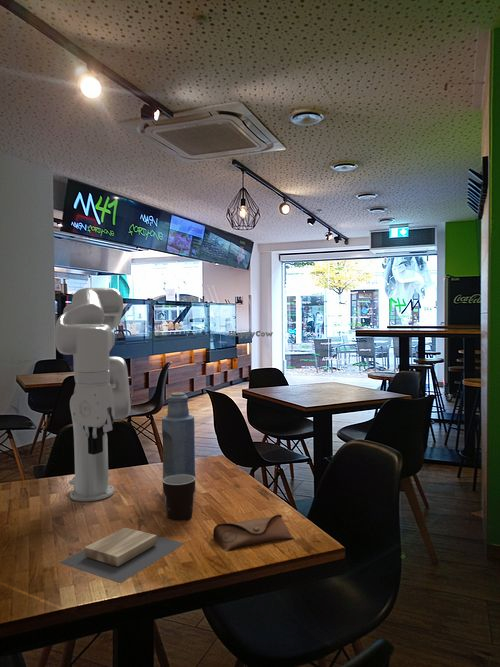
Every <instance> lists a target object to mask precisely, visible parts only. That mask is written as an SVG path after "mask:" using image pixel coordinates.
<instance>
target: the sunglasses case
mask: <svg viewBox="0 0 500 667" xmlns="http://www.w3.org/2000/svg"><path fill="white" fill-rule="evenodd" d="M284 521H285V520H283V515H281V514H276V515H272V516H267V517H261V518H260V517H259V518H252V519H248V520H241V521H236V522H229V523H228V522H226V523H219V524H217V525H216V526H214V528H213V534H212V536H213V539H214V541H216V543H217V544H218V545H219V546H220V548H221V549H223V550H224V552H231V551H234V550H238V549H242V548H243V549H244V548H247V547H252V546H254V547H255V546H257V545H258V546H260V545H264V544H269V543H275V542H281V541H286V540H287V541H289V540H294V539H295V537H294V536H292V534H291V533H290V531H289V528H288V526H287V525H286V523H285V522H284Z"/></svg>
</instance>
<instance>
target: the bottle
mask: <svg viewBox="0 0 500 667" xmlns="http://www.w3.org/2000/svg"><path fill="white" fill-rule="evenodd" d="M188 400H189V397H188V395H186V393H185V392H181V391H180V392H178V391H177V392H171V393H170V395H169V396H168V397H167V411H166V412H167V413H166V415H165V416H162V418H161V435H162V436H161V437H162V480H163V479H164V478H165V477H168V476H172V475H180V474H184V475H191V476H194V477H195V478H196V461H195V460H196V455H195V454H196V451H195V449H196V448H195V447H196V446H195V440H196V439H195V432H196V431H195V430H196V429H195V416H194V415H193V414H190V413H189V412H190V411H189V403H188ZM162 491H163V492H162V493H163V494H164V490H163V489H162ZM195 492H196V488H195V489H194V493H195Z"/></svg>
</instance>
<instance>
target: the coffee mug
mask: <svg viewBox="0 0 500 667" xmlns="http://www.w3.org/2000/svg"><path fill="white" fill-rule="evenodd" d="M161 482H162V491H163V490H164V493H163V496H164V502H165V509H166V517H167V519H168V520H171V521H175V522H176V521H179V522H180V521H190V520H191V519H192V518H193V512H194V511H193V510H194V497H195V492H194V489H195V490H196V476H195V477H194V476H191V475H184V474H180V475H172V476H168V477H165V478H164V479H163V478H162V481H161Z"/></svg>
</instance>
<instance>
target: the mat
mask: <svg viewBox="0 0 500 667" xmlns="http://www.w3.org/2000/svg"><path fill="white" fill-rule="evenodd" d="M184 544H185V543H184V542H181V541H179V540H178V541H177V540H173V539H169V538H166V537H163V536H162V537H161V536H159V535H157V544H156V545H154V546H152V547H151V548H149V549H147V550H146V551H144V552H142V553H140V554H139V555H137V556H135V557H134V558H132V559H130V560H128V561H127V562H125V563H123V564H122V565H120V566H115V565H111V564H108V563H105V562H102V561H98V560H95V559H92V558H88V557H85V549H83V550H81V551H79V552H77V553H75V554H73V555H72V556H69V557H67V558H65V559H63V560H61V561H59V563H60V564H63V565H66V566H69V567H71V568H74V569H78V570H81V571H84V572H86V573H87V572H88V573H90V574H92V575H96V576H98V577H102V578H105V579H108V580H111V581H113V582H116V583H119V584H122V583H123V582H125V581H126V580H128V579H131V578H132V577H134V576H135V575H136V574H138V573H139V572H142V571H143V570H144V569H146V568H147V567H149V566H151V565H153V564H154V563H155V562H157V561H160V560H161V559H162V558H164V557H166V556H167V555H168V554H170V553H172V552H174V551H175V550H176V549H178V548H180V547H181V546H183V545H184Z"/></svg>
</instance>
